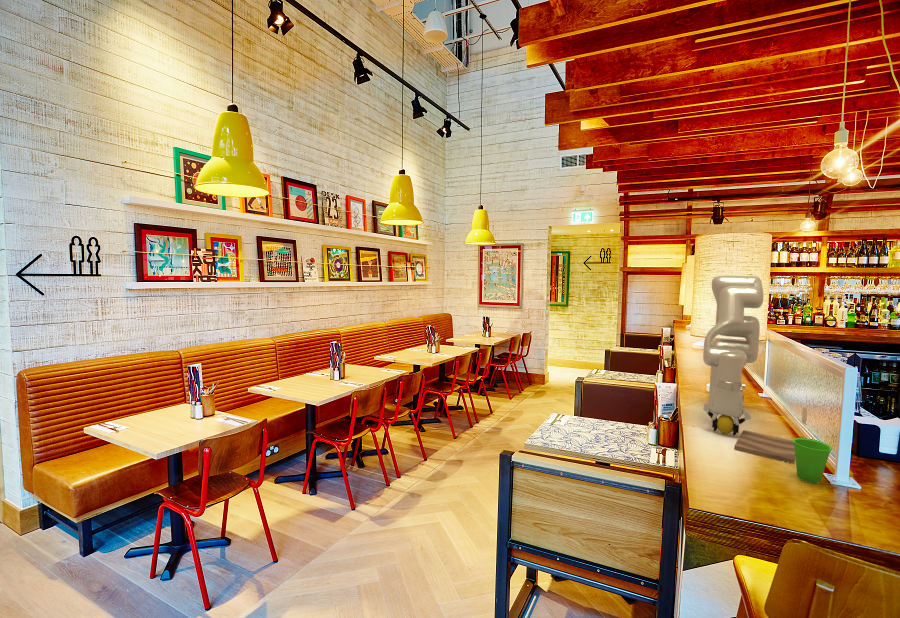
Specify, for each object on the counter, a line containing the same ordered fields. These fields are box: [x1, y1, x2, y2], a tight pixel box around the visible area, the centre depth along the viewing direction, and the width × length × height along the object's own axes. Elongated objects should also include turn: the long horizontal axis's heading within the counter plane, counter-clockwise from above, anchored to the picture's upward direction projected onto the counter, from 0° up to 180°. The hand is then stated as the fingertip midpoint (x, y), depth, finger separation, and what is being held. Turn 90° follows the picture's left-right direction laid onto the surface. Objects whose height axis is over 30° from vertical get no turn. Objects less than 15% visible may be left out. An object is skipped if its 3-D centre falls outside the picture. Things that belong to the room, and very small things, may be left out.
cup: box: [791, 437, 833, 484], centre depth 126 cm, size 9×9×11 cm
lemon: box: [717, 414, 735, 435], centre depth 161 cm, size 6×6×8 cm
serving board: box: [734, 429, 796, 465], centre depth 149 cm, size 20×16×2 cm
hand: (724, 431), depth 161 cm, fingers closed on lemon, 5 cm apart
